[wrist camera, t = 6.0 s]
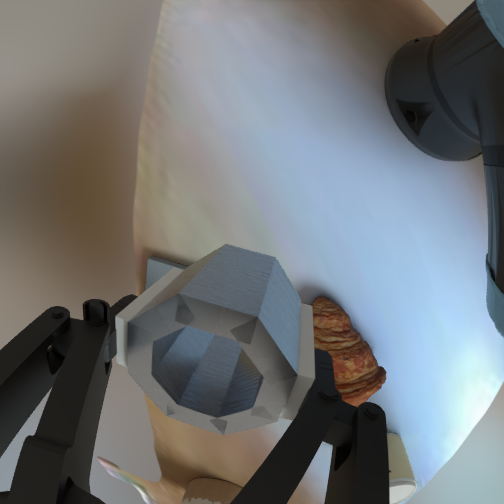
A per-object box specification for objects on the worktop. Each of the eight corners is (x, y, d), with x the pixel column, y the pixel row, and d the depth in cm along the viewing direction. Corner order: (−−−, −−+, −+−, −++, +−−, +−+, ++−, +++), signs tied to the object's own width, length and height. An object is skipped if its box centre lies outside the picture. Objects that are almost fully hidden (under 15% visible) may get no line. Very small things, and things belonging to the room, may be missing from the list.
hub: (192, 235, 17) (129, 276, 10) (311, 266, 16) (315, 332, 10) (177, 333, 19) (129, 400, 12) (278, 363, 18) (265, 445, 12)
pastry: (248, 366, 39) (236, 405, 32) (321, 288, 34) (326, 321, 27) (334, 417, 40) (336, 455, 32) (408, 355, 35) (425, 391, 27)
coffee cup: (373, 427, 39) (383, 483, 28) (415, 432, 39) (429, 483, 27) (347, 456, 42) (349, 508, 31) (387, 460, 42) (394, 508, 30)
